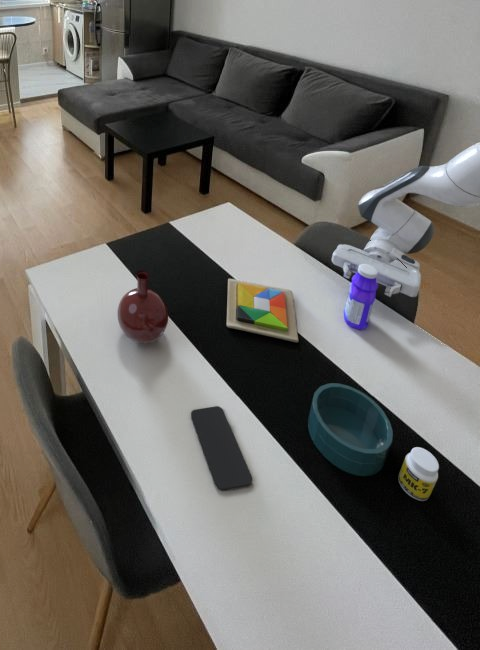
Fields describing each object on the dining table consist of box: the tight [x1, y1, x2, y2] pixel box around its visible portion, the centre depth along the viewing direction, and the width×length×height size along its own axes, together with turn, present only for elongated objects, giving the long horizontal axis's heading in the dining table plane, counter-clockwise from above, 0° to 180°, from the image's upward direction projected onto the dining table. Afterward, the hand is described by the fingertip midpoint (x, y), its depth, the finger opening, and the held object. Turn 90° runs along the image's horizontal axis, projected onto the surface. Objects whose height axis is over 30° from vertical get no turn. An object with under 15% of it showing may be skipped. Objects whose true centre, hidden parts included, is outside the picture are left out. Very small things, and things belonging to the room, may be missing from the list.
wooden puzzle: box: [226, 278, 299, 343], centre depth 118 cm, size 18×19×4 cm
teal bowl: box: [307, 382, 394, 477], centre depth 86 cm, size 14×14×7 cm
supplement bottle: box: [397, 446, 440, 502], centre depth 78 cm, size 5×5×8 cm
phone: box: [190, 405, 253, 492], centre depth 87 cm, size 7×1×15 cm
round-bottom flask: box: [116, 269, 169, 344], centre depth 110 cm, size 13×13×20 cm
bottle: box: [343, 264, 379, 331], centre depth 111 cm, size 7×6×17 cm
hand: (366, 284), depth 113 cm, fingers open, 8 cm apart
